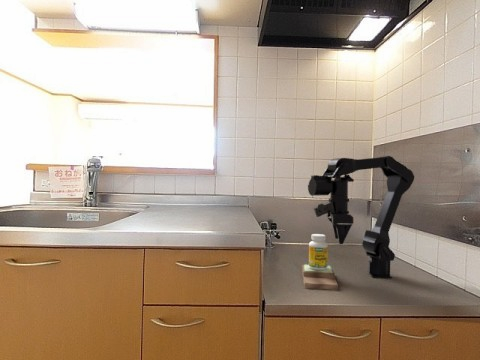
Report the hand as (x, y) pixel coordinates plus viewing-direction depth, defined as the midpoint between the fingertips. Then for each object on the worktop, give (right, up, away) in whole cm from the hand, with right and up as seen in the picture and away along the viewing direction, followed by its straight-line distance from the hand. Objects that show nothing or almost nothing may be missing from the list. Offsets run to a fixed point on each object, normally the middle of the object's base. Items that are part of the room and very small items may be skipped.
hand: (338, 241), depth 113 cm
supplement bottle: (-7, -10, +1) cm, 12 cm away
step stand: (-8, -13, -3) cm, 15 cm away
